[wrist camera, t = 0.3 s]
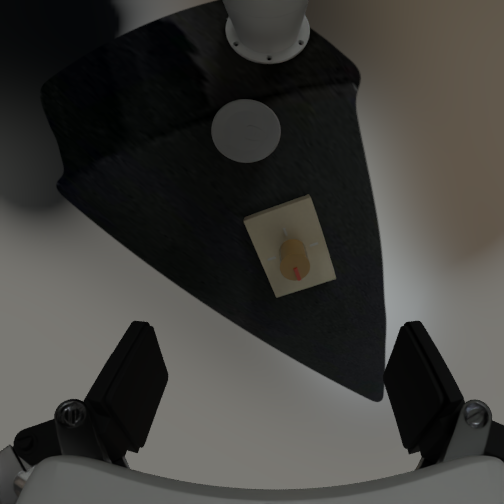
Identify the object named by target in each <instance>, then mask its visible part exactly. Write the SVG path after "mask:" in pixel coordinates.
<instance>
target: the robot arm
mask: <svg viewBox="0 0 504 504" xmlns="http://www.w3.org/2000/svg"><path fill="white" fill-rule="evenodd" d="M222 1H223V3H224V5H225V8H226V10H227V12H228V15H229V17H228V20H227V22H226V29H225V31H226V37H227V39H228V42H229V44H230V45H231V47H232V48H233V49H234V50H235V52H237V53H238V54H239V55H240V56H242V57H244V58H245V59H247V60H250V61H253V62H256V63H262V64H275V63H281V62H284V61H287V60H289V59H292V58H294V57H295V56H296V55H298V54H299V53H300V52H301V51H302V50H303V49H304V47H305V45H306V44H307V42H308V39H309V34H310V26H309V23H308V20H307V18H306V16H305V11H306V8H307V5H308V1H309V0H222ZM299 43H301V44H302V45H299ZM236 44H238V46H235V45H236ZM268 58H271V60H268ZM167 381H168V372H167V369H166V366H165V363H164V360H163V357H162V354H161V351H160V347H159V344H158V341H157V338H156V334H155V331H154V328H153V327H152V326H150V325H149V323H148V322H142V321H133V322H132V323H131V325H130V326H129V328H128V329H127V331H126V333H125V334H124V336H123V338H122V339H121V340H120V342H119V344H118V345H117V347H116V348H115V350H114V352H113V353H112V354H111V356H110V358H109V359H108V361H107V362H106V364H105V366H104V367H103V369H102V371H101V372H100V374H99V376H98V377H97V379H96V381H95V383H94V384H93V386H92V387H91V389H90V391H89V393H88V394H87V396H86V398H85V400H84V402H83V401H81V400H78V399H70V400H67V401H64V402H63V403H61V404H60V405H59V406H58V408H57V409H56V411H55V414H54V419H53V420H49V421H47V422H44V423H41V424H38V425H35V426H32V427H29V428H27V429H24V430H22V431H20V432H19V433H18V434H17V435H16V437H15V440H14V446H13V447H12V446H11V445H9V446H7V447H6V448H4V449H3V450H2V451H0V504H504V425H501V424H499V423H497V422H495V421H492V413H491V410H490V408H489V407H488V406H487V405H486V404H485V403H484V402H482V401H480V400H470V401H468V402H466V403H465V401H464V398H463V396H462V394H461V392H460V390H459V388H458V386H457V384H456V382H455V380H454V378H453V376H452V374H451V372H450V371H449V369H448V367H447V365H446V363H445V362H444V360H443V358H442V356H441V354H440V353H439V351H438V349H437V347H436V346H435V344H434V342H433V341H432V339H431V337H430V336H429V334H428V332H427V331H426V329H425V328H424V326H423V324H422V323H421V322H420V321H413V322H412V321H411V322H406V323H405V324H404V326H402V327H401V328H400V331H399V333H398V337H397V339H396V342H395V345H394V348H393V351H392V353H391V356H390V359H389V361H388V364H387V367H386V369H385V372H384V375H383V381H384V384H385V387H386V390H387V393H388V396H389V399H390V403H391V405H392V409H393V412H394V415H395V418H396V422H397V426H398V429H399V432H400V436H401V440H402V443H403V446H404V448H406V449H408V452H409V454H412V453H415V452H419V451H420V452H421V456H422V458H421V460H420V462H419V464H418V466H417V468H416V469H415V471H411V472H407V473H404V474H399V475H395V476H391V477H386V478H382V479H377V480H372V481H367V482H361V483H355V484H349V485H341V486H333V487H323V488H310V489H288V490H263V489H241V488H229V487H219V486H209V485H203V484H196V483H190V482H184V481H179V480H174V479H168V478H164V477H160V476H155V475H151V474H147V473H143V472H139V471H135V470H131V469H130V467H129V465H128V463H127V461H126V459H125V454H126V451H127V450H128V451H132V452H135V453H138V451H139V448H140V447H141V448H142V447H143V446H144V444H145V442H146V439H147V436H148V433H149V431H150V428H151V425H152V422H153V419H154V417H155V414H156V411H157V408H158V405H159V403H160V400H161V397H162V395H163V392H164V389H165V387H166V384H167Z"/></svg>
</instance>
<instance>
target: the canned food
mask: <svg viewBox="0 0 504 504" xmlns="http://www.w3.org/2000/svg"><path fill="white" fill-rule="evenodd" d="M211 133H212V138H213V142H214V144H215V145H216V147H217V148H218V150H219V151H220V152H221V153H222V154H223V155H225V156H226V157H228V158H229V159H231V160H234V161H237V162H243V163H248V162H256V161H259V160H262V159H264V158H265V157H267V156H269V155H270V154H271V153H272V152H273V151H274V149H275V148H276V147H277V145H278V142H279V140H280V135H281V129H280V124H279V120H278V118H277V116H276V115H275V113H274V112H273V111H272V110H271V109H270V108H269V107H268V106H266V105H265V104H263V103H261V102H258V101H255V100H250V99H240V100H236V101H232V102H230V103H228V104H226V105H225V106H223V107H222V108H221V109H220V110H219V111H218V112H217V114H216V115H215V117H214V120H213V122H212V128H211Z"/></svg>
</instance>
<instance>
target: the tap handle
mask: <svg viewBox="0 0 504 504" xmlns="http://www.w3.org/2000/svg"><path fill="white" fill-rule="evenodd" d="M279 261H280V272H281V274H282V275H283V276H284V277H285V278H286V279H289V280H293V281H296V280H298V281H300V280H301V279H303V278H304V277H305V276H306V275H307V274H308V273H309V271H310V262H309V258H308V254H307V250H306V247H305V245H304V244H303V243H302V242H301V241H300V240H297V239H289V240H287V241H285V242H284V243H282V245H281V246H280V249H279Z"/></svg>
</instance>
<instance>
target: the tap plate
mask: <svg viewBox="0 0 504 504" xmlns="http://www.w3.org/2000/svg"><path fill="white" fill-rule="evenodd" d="M243 222H244V224H245V226H246V229H247V231H248V233H249V235H250V238H251V240H252V242H253V245H254V247H255V249H256V252H257V254H258V256H259V259H260V261H261V263H262V265H263V268H264V270H265V272H266V275H267V277H268V279H269V282H270V284H271V286H272V289H273V291H274V293H275V296H276V298H277V297H280V296H283V295H287V294H290V293H293V292H296V291H299V290H303V289H306V288H309V287H312V286H315V285H318V284H321V283H324V282H327V281H330V280H333V279H336V276H335V272H334V269H333V265H332V262H331V259H330V255H329V252H328V249H327V245H326V242H325V239H324V236H323V233H322V229H321V226H320V223H319V220H318V217H317V214H316V211H315V208H314V205H313V202H312V199H311V197H310V195H306V196H303V197H300V198H297V199H294V200H291V201H289V202H286V203H283V204H280V205H277V206H274V207H272V208H269V209H266V210H263V211H261V212H258V213H255V214H252V215H250V216H247V217H245V218H244V221H243ZM289 239H297V240H300V241H301V242H302V243H303V244H304V245H305V247H306V250H307V254H308V258H309V262H310V271H309V273H308V274H307V275H306V276H305V277H304V278H303V279H301V280H300V281H298V280H296V281H293V280H289V279H286V278H285V277H284V276H283V275H282V274H281V272H280V261H279V249H280V246H281V245H282V243H284V242H285V241H287V240H289Z"/></svg>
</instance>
